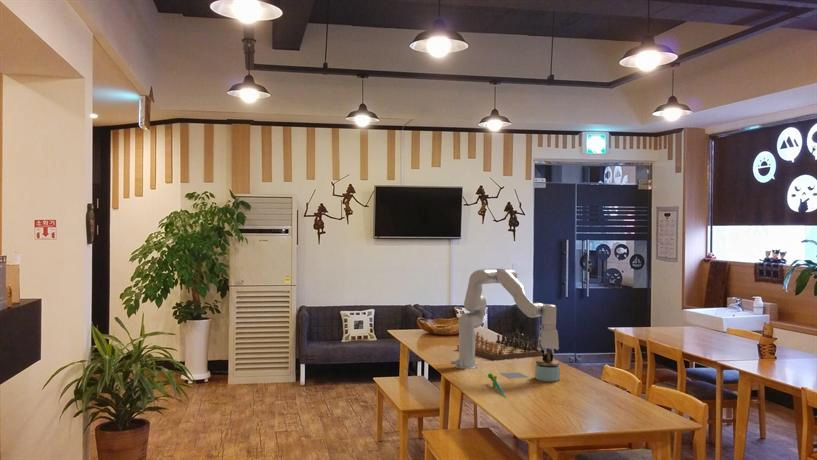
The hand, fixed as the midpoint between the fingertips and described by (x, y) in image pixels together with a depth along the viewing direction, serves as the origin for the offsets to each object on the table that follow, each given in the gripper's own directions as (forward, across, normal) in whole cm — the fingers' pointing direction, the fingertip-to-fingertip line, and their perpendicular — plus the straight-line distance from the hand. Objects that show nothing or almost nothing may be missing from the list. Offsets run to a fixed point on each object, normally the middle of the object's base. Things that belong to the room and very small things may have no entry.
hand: (547, 361), depth 367 cm
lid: (+1, 0, 0) cm, 1 cm away
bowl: (+10, 0, 0) cm, 10 cm away
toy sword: (+11, -37, -16) cm, 42 cm away
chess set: (+11, +10, +80) cm, 81 cm away
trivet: (+10, -14, +12) cm, 21 cm away
